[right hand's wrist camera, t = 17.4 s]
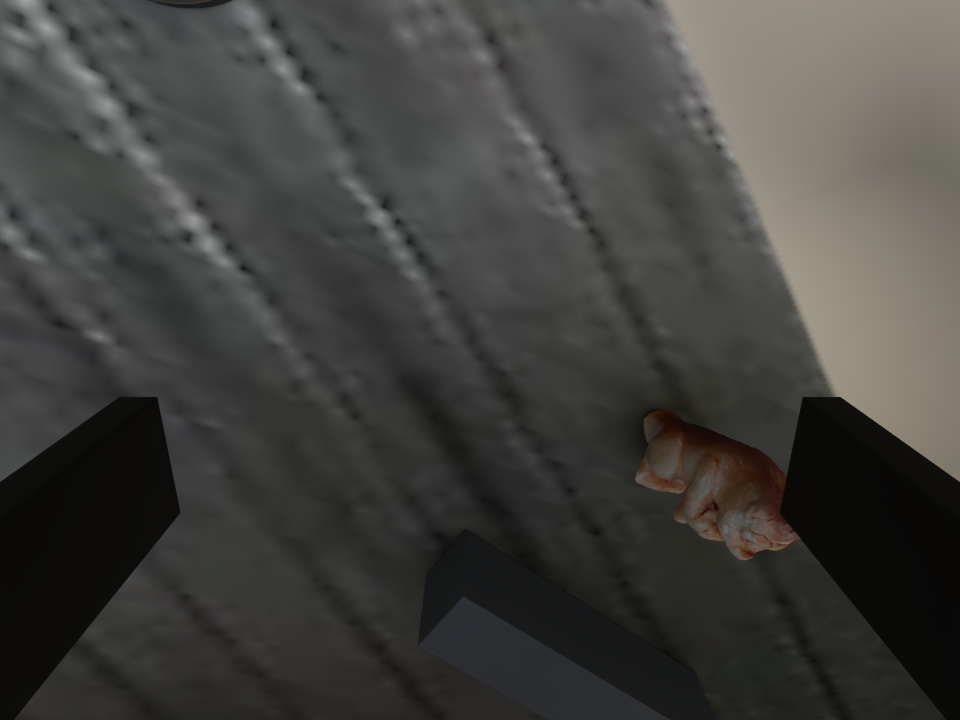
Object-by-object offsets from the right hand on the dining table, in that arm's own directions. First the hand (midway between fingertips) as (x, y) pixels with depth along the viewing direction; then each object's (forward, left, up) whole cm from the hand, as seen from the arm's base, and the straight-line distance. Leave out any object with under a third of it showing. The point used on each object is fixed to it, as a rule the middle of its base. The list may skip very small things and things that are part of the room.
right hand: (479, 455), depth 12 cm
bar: (+26, +24, -31) cm, 47 cm away
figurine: (+5, +20, -31) cm, 37 cm away
